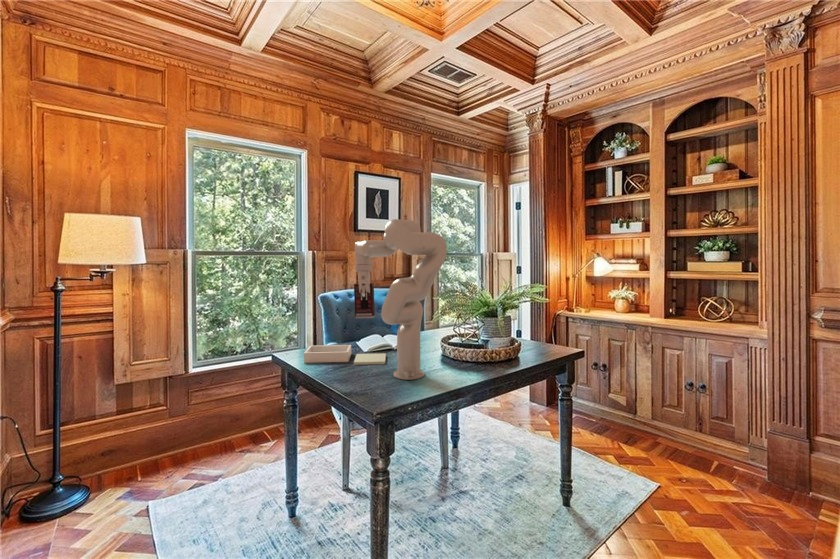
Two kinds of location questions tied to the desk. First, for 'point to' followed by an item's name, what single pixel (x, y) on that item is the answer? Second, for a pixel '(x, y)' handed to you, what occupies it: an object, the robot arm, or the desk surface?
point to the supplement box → (371, 306)
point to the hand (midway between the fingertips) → (364, 307)
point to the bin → (327, 353)
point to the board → (370, 359)
